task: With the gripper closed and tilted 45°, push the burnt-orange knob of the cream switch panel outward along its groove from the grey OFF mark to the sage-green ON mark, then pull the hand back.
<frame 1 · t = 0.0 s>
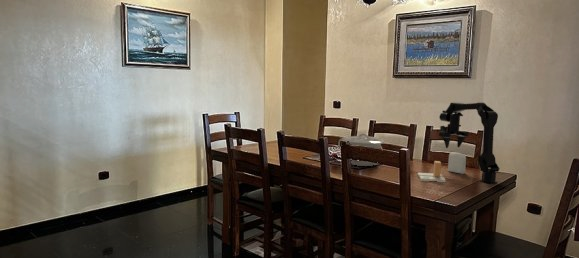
hand: (452, 147, 248), 15 cm above the table, tool pointing down, fingers open, 9 cm apart
photo printer: (456, 172, 246), on the table
switch panel: (431, 178, 230), on the table
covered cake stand: (362, 165, 263), on the table
switch knob: (437, 169, 228), point 5 cm above the table, slide at 0.0 cm
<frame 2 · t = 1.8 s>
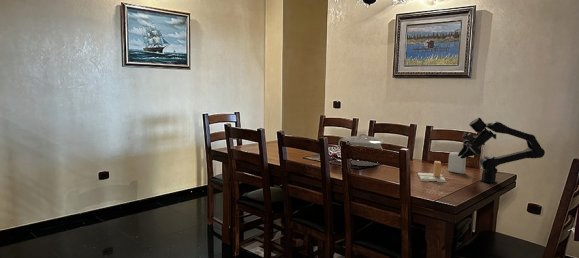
hand: (459, 156, 225), 14 cm above the table, tool tilted 45°, fingers open, 6 cm apart
nothing on the table moved.
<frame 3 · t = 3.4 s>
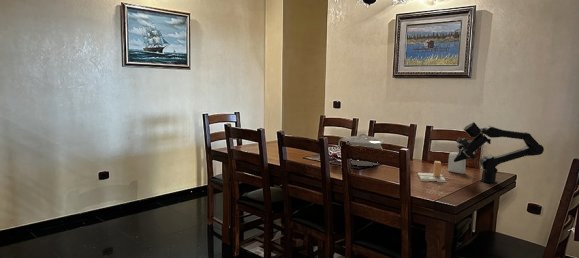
hand: (454, 161, 226), 11 cm above the table, tool tilted 45°, fingers closed
nothing on the table moved.
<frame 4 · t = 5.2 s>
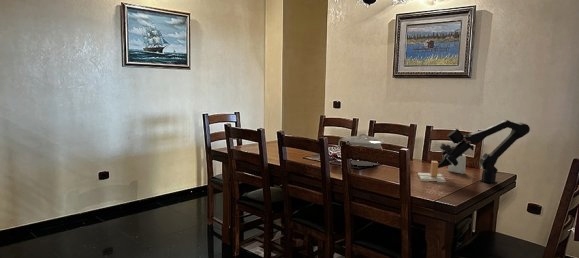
hand: (437, 167, 228), 7 cm above the table, tool tilted 45°, fingers closed, pressing on switch knob
switch knob: (434, 169, 229), point 5 cm above the table, slide at 1.6 cm, touching gripper
everything else where it was.
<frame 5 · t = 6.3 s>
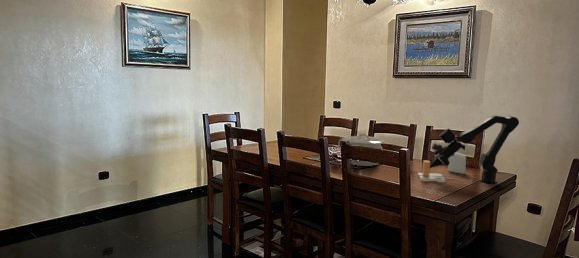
hand: (429, 167, 229), 7 cm above the table, tool tilted 45°, fingers closed, pressing on switch knob
switch knob: (426, 169, 229), point 5 cm above the table, slide at 6.0 cm, touching gripper
everything else where it was.
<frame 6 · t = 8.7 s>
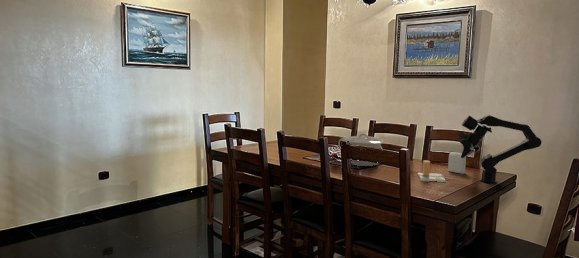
hand: (461, 157, 227), 13 cm above the table, tool tilted 30°, fingers closed
switch knob: (426, 169, 229), point 5 cm above the table, slide at 6.0 cm
everything else where it was.
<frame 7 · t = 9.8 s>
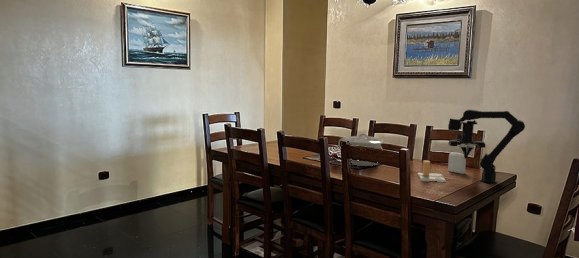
hand: (465, 158, 229), 12 cm above the table, tool pointing down, fingers closed
nothing on the table moved.
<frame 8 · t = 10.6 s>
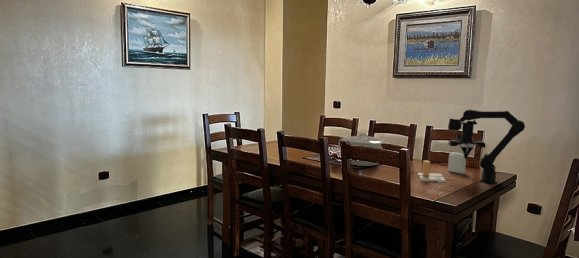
hand: (465, 158, 229), 12 cm above the table, tool pointing down, fingers closed
nothing on the table moved.
at the end: switch knob slide at 6.0 cm; photo printer moved 0.2 cm from its start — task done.
